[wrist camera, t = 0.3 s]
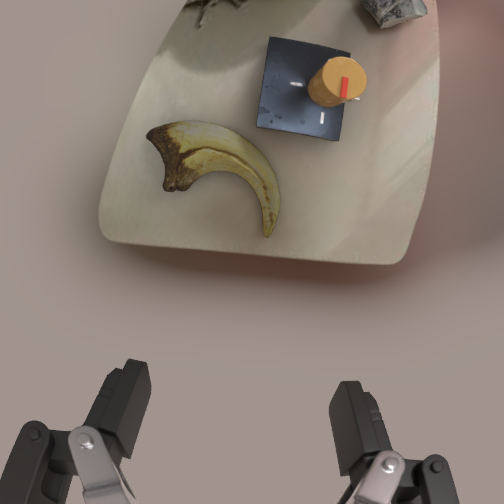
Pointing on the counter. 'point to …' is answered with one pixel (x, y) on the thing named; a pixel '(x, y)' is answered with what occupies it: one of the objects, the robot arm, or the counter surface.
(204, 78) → the counter surface
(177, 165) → the claw
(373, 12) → the stone
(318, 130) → the panel
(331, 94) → the tan cylinder
